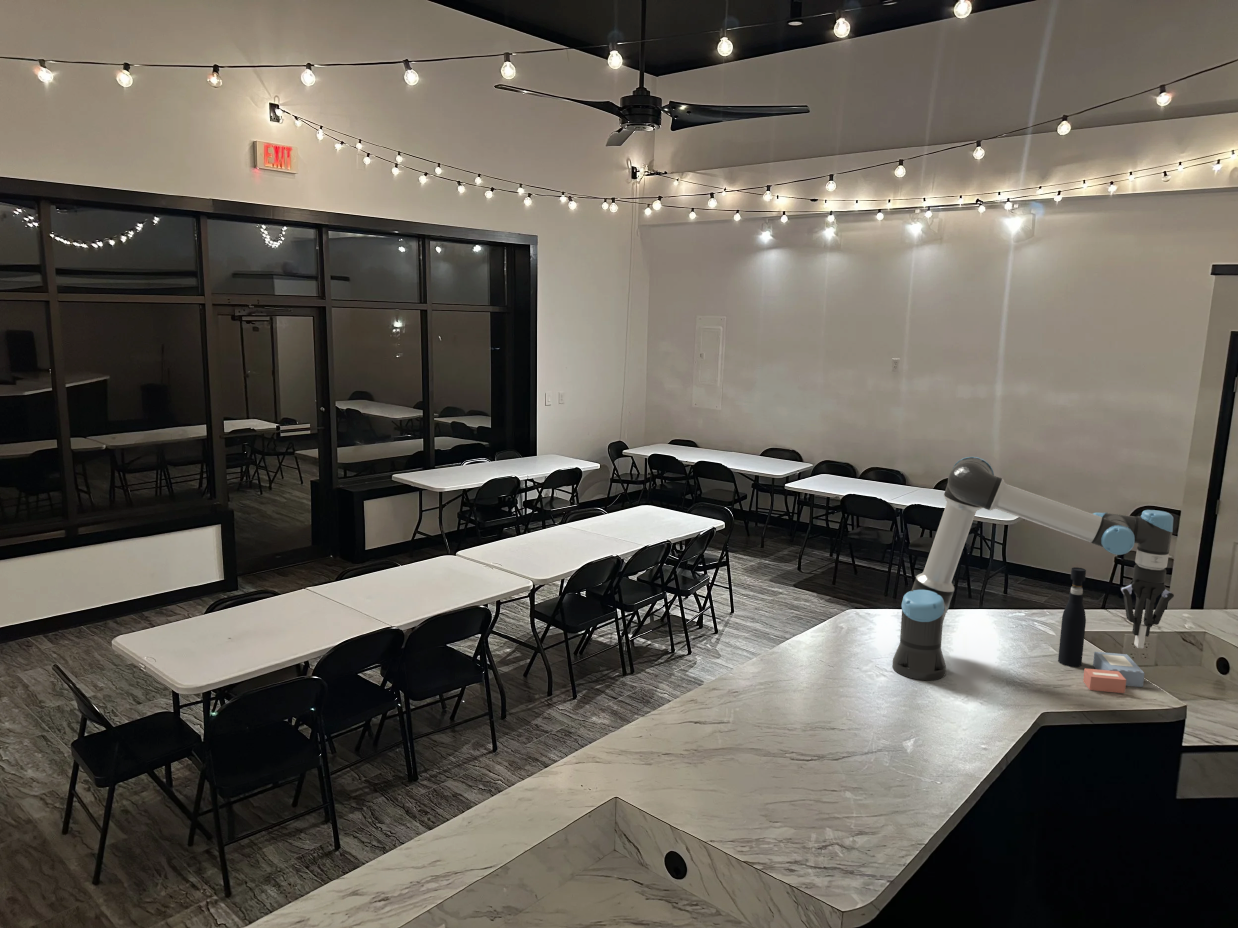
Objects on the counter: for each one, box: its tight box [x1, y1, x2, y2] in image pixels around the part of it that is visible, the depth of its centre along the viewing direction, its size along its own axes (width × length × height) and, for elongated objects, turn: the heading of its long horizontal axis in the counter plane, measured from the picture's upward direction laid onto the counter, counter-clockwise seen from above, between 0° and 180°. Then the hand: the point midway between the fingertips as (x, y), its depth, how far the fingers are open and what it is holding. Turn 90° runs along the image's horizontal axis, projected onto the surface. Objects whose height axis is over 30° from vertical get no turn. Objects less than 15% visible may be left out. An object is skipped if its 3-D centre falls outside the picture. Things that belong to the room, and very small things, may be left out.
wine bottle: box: [1057, 566, 1087, 668], centre depth 252 cm, size 6×6×30 cm
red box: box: [1082, 668, 1127, 694], centre depth 236 cm, size 9×6×4 cm, turn 76°
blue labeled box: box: [1092, 651, 1145, 688], centre depth 245 cm, size 9×14×4 cm, turn 166°
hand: (1138, 646), depth 233 cm, fingers closed
